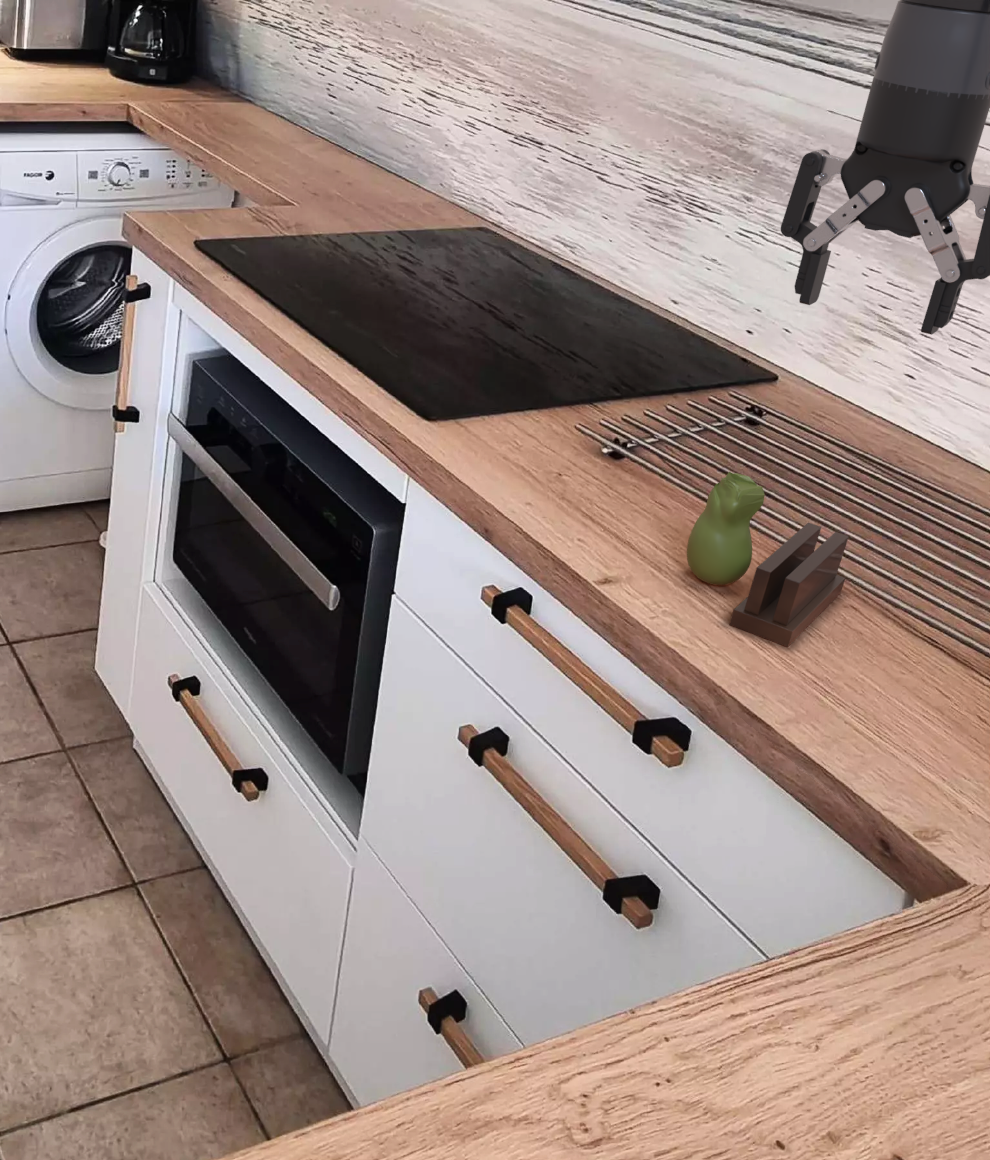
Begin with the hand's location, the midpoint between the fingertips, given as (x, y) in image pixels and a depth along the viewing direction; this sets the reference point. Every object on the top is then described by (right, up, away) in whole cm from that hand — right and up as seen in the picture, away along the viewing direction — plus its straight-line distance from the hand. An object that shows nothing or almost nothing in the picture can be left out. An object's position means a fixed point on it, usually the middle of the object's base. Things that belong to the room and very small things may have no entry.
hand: (867, 316), depth 108 cm
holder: (+3, -21, +23) cm, 31 cm away
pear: (-3, -19, +26) cm, 32 cm away
